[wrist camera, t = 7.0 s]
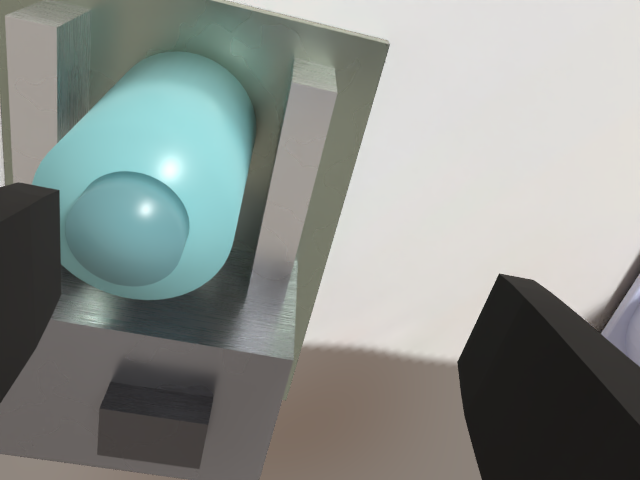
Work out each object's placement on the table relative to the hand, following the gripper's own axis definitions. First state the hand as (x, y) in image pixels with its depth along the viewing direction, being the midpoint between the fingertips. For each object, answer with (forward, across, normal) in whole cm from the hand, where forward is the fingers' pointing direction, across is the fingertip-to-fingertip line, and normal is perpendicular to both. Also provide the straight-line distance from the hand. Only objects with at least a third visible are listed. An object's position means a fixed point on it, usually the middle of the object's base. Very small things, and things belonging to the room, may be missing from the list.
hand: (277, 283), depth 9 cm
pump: (+9, +3, +1) cm, 10 cm away
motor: (+10, +3, +5) cm, 12 cm away
